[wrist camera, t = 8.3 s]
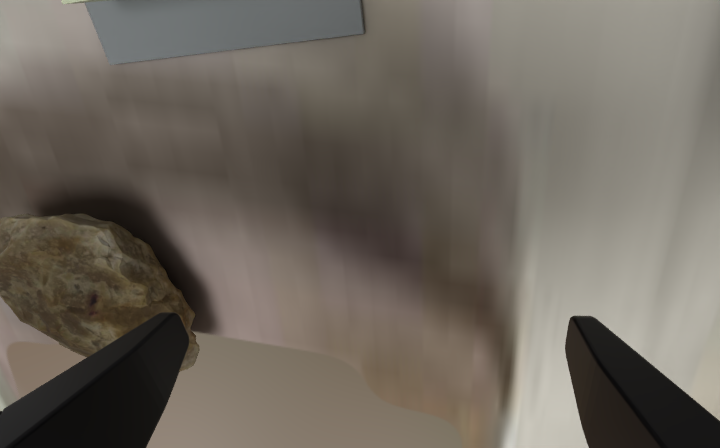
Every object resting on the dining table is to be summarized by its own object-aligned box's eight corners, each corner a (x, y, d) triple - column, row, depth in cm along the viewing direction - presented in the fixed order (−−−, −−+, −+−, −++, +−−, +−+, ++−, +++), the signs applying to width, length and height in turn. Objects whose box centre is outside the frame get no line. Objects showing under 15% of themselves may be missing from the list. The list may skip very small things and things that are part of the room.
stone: (-32, 218, 24) (-93, 271, 17) (107, 158, 26) (101, 185, 19) (101, 365, 30) (94, 449, 23) (205, 306, 32) (226, 365, 25)
